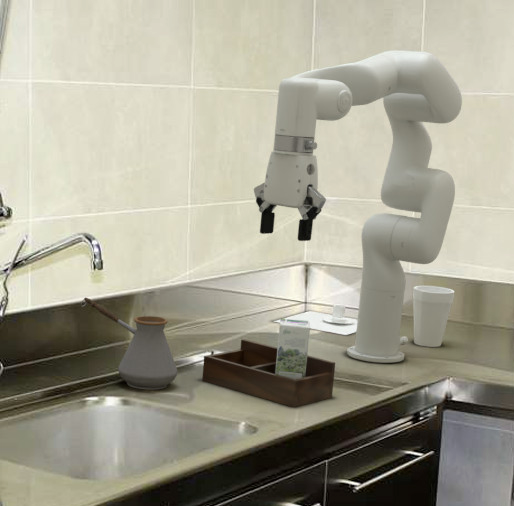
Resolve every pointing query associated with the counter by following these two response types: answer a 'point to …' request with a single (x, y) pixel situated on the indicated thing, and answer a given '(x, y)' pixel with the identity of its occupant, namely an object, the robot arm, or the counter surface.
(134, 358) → the coffee pot
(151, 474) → the counter surface
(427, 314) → the foam cup
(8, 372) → the counter surface
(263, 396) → the compartment tray
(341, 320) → the teacup and saucer
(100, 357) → the counter surface
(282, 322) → the tea packet
